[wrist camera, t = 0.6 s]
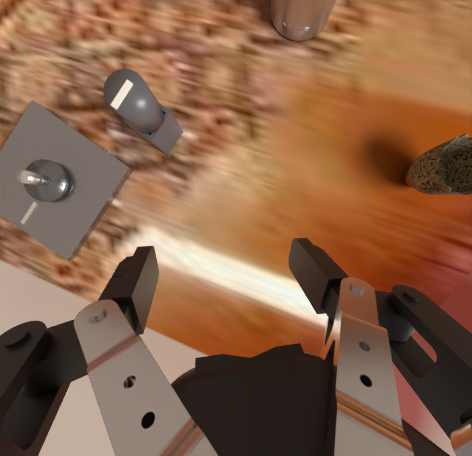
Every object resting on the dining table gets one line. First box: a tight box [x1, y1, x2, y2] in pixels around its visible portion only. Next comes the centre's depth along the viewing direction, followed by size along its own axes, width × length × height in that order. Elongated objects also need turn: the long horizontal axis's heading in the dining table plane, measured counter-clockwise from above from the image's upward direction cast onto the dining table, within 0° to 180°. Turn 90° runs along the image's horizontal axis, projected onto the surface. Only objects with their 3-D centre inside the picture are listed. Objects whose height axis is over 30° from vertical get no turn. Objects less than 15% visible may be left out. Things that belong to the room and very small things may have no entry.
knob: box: [104, 69, 183, 155], centre depth 26 cm, size 5×5×11 cm
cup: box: [404, 134, 472, 195], centre depth 28 cm, size 8×7×8 cm
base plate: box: [0, 100, 133, 260], centre depth 30 cm, size 18×18×5 cm
